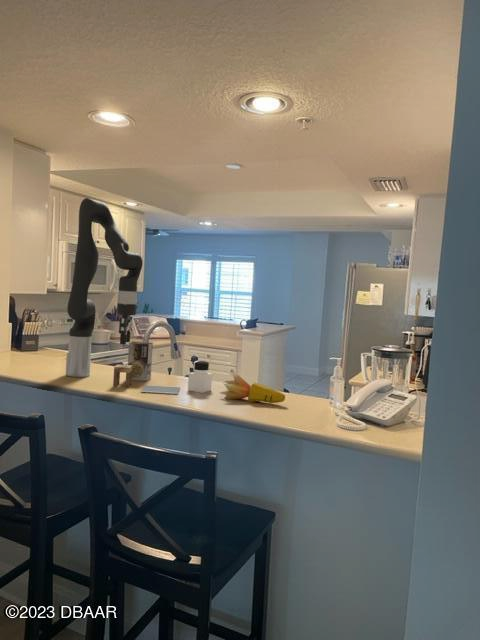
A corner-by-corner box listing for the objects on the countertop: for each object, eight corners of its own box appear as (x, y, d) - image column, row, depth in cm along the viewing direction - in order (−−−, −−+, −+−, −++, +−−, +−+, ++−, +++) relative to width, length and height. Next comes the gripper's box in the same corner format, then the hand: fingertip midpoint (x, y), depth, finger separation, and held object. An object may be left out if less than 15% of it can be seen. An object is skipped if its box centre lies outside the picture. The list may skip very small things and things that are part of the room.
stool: (113, 386, 179) (114, 366, 178) (116, 383, 185) (117, 364, 184) (128, 387, 179) (129, 367, 179) (131, 384, 185) (132, 365, 185)
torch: (280, 416, 167) (218, 398, 174) (286, 402, 174) (225, 386, 180) (282, 399, 163) (218, 382, 170) (288, 386, 169) (226, 370, 176)
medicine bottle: (211, 390, 186) (213, 361, 185) (202, 393, 179) (204, 363, 178) (196, 387, 189) (198, 359, 188) (187, 390, 182) (189, 361, 181)
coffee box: (151, 378, 201) (153, 342, 200) (146, 381, 195) (149, 344, 194) (131, 376, 202) (133, 340, 201) (126, 379, 195) (128, 342, 195)
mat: (140, 392, 173) (140, 391, 172) (145, 386, 184) (145, 384, 184) (177, 394, 173) (177, 393, 173) (180, 388, 185) (180, 387, 185)
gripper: (121, 301, 187) (119, 340, 188) (113, 302, 173) (111, 344, 174) (139, 303, 188) (137, 341, 188) (133, 303, 173) (131, 345, 174)
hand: (125, 343), depth 181 cm, fingers open, 8 cm apart
